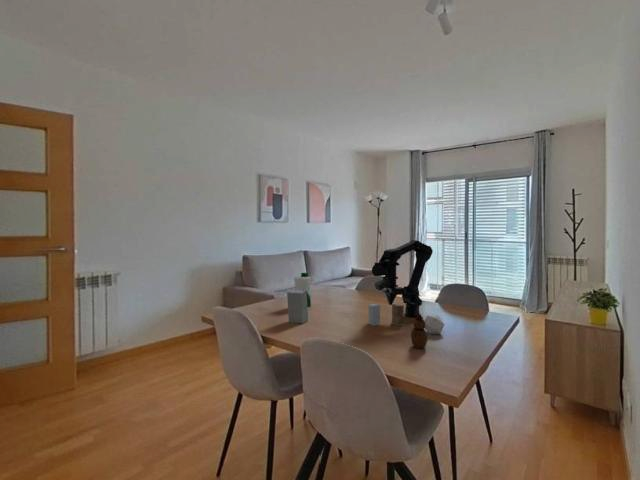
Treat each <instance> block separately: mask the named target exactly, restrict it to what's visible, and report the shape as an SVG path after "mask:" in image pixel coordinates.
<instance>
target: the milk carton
mask: <svg viewBox="0 0 640 480" xmlns="http://www.w3.org/2000/svg"><path fill="white" fill-rule="evenodd" d="M308 274H309V273H308V272H302V273H301V274H300V275H299V276H294V277H293V280H294V290H302V291H306V292H307V308H310V307H311V305H312V303H311V302H312V301H311V282H312V276H309V275H308Z"/></svg>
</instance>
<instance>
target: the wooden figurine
mask: <svg viewBox="0 0 640 480" xmlns="http://www.w3.org/2000/svg"><path fill="white" fill-rule="evenodd" d="M412 325H413V328H412V330H411V333H410V338H411V344H412V346H413V347H415V348H416V349H424V348H426V346H427V343H428V332H427V330H426V329H425V319H424V318H423V316H422V314H420V310H419V311H418V313H417V309H416V314H415V317H414V320H413V322H412Z"/></svg>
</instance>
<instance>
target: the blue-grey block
mask: <svg viewBox="0 0 640 480" xmlns="http://www.w3.org/2000/svg"><path fill="white" fill-rule="evenodd" d="M368 324H369V325H370V326H372V327H373V326H374V327H375V326H380V325H381V305H379V304H377V303H372V304H368Z"/></svg>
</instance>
